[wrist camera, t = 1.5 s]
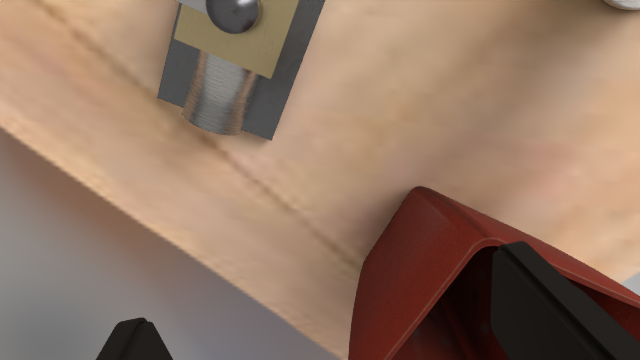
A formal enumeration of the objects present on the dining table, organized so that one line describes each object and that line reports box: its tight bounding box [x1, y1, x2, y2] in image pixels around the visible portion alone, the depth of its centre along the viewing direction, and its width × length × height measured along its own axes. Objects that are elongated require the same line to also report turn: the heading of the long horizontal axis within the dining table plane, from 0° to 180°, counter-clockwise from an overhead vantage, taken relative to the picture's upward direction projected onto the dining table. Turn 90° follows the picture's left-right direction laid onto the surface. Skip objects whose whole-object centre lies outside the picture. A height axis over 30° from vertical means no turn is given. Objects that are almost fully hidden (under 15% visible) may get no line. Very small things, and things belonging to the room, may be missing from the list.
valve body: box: [157, 0, 325, 140], centre depth 26 cm, size 20×11×9 cm, turn 157°
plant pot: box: [348, 186, 640, 360], centre depth 34 cm, size 19×19×17 cm
